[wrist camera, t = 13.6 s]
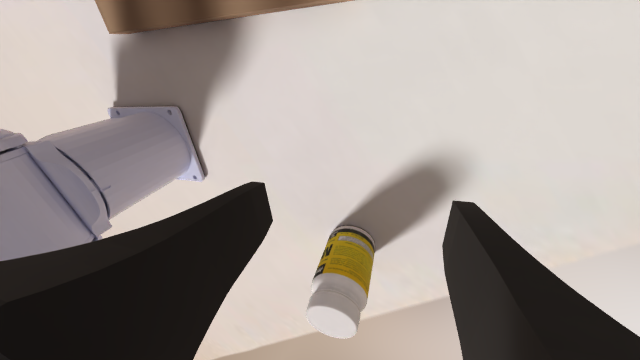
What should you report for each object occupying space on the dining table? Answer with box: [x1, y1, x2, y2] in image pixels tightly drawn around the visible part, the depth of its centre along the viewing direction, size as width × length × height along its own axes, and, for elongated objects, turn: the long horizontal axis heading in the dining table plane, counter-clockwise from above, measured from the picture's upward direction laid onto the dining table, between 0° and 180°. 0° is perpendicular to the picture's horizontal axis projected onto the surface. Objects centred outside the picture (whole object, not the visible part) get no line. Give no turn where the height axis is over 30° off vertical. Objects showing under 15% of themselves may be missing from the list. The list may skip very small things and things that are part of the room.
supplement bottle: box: [306, 226, 375, 338], centre depth 21 cm, size 5×5×8 cm
